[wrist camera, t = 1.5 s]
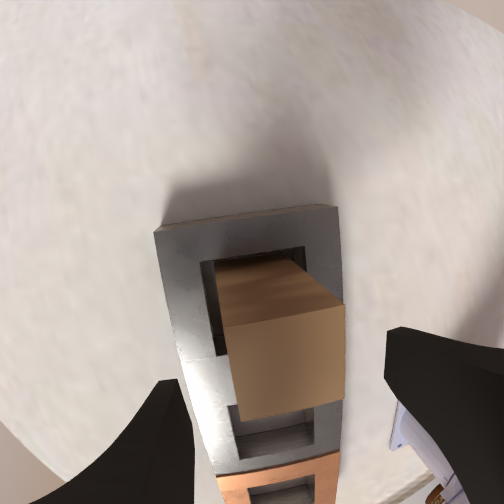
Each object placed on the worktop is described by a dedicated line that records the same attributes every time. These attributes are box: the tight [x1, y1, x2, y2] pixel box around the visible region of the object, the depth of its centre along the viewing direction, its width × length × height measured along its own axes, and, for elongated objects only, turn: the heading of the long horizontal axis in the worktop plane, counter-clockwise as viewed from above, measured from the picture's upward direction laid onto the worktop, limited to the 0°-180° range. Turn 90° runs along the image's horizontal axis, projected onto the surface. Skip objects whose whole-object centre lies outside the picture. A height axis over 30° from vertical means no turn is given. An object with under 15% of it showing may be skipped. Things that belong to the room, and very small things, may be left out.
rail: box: [153, 204, 343, 504], centre depth 20 cm, size 9×27×3 cm, turn 7°
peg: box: [214, 252, 345, 422], centre depth 15 cm, size 4×4×9 cm
